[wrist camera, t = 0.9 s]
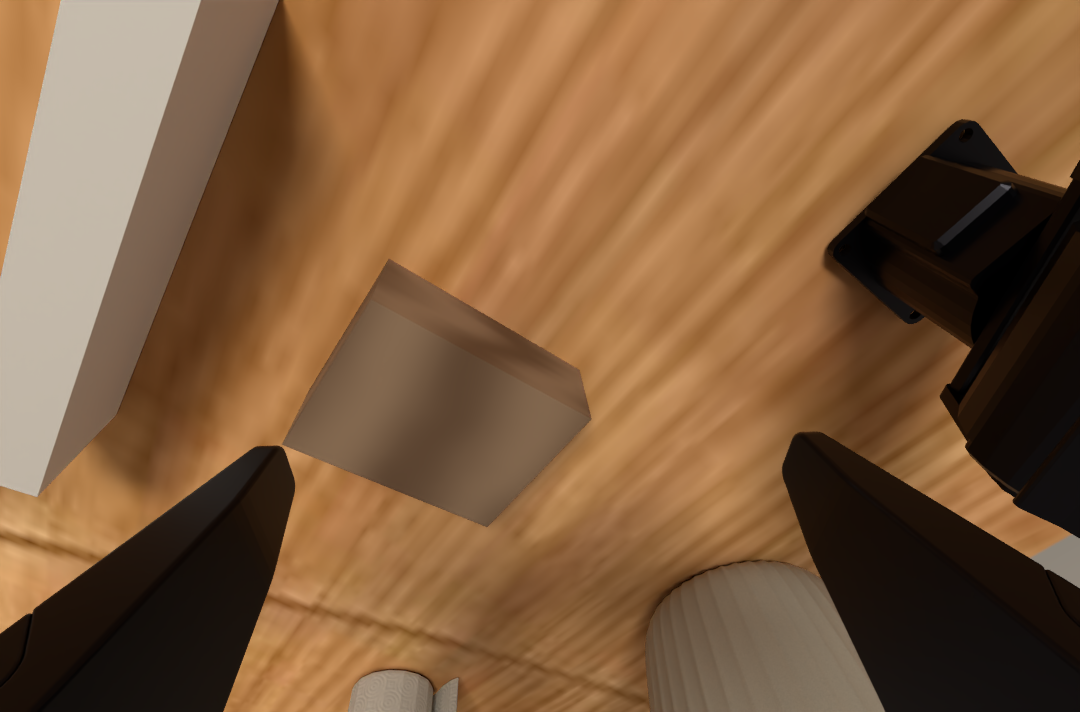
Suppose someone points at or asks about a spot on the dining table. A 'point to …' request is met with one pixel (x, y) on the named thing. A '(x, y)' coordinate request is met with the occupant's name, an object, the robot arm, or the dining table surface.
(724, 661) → the canister
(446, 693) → the paper towel roll
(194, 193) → the plank
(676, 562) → the dining table surface
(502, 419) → the walnut block
